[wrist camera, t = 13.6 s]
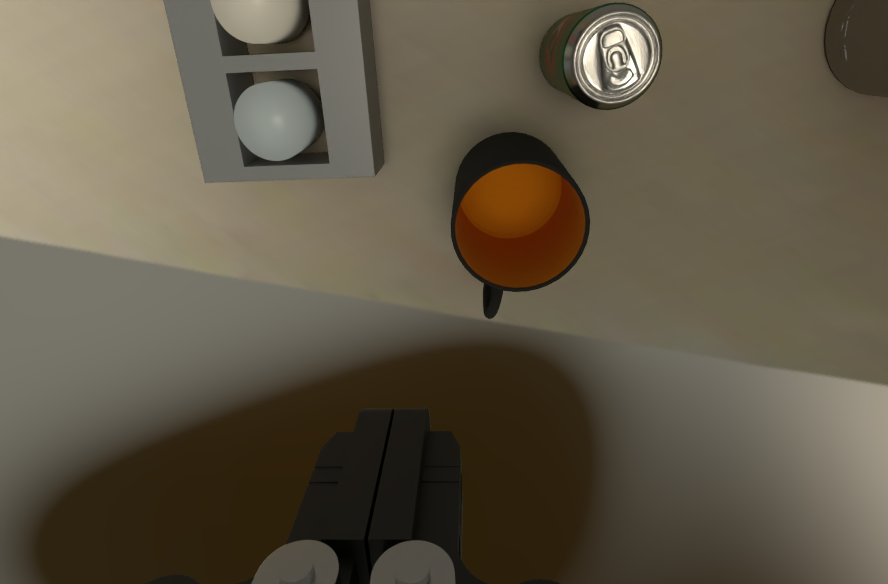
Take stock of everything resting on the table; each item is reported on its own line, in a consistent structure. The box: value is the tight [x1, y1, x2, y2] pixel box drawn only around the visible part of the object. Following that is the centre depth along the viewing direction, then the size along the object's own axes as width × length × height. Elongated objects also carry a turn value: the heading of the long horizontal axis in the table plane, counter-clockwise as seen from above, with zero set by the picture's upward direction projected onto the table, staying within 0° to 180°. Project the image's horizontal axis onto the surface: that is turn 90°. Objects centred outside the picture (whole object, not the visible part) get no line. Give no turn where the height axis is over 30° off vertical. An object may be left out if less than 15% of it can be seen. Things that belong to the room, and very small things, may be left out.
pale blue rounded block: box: [234, 79, 324, 161], centre depth 37 cm, size 5×5×4 cm
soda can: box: [540, 3, 662, 110], centre depth 33 cm, size 5×5×12 cm
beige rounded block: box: [210, 0, 309, 44], centre depth 34 cm, size 5×5×4 cm
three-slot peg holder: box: [163, 0, 384, 183], centre depth 36 cm, size 12×22×4 cm, turn 3°
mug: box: [451, 132, 590, 319], centre depth 38 cm, size 8×12×10 cm
